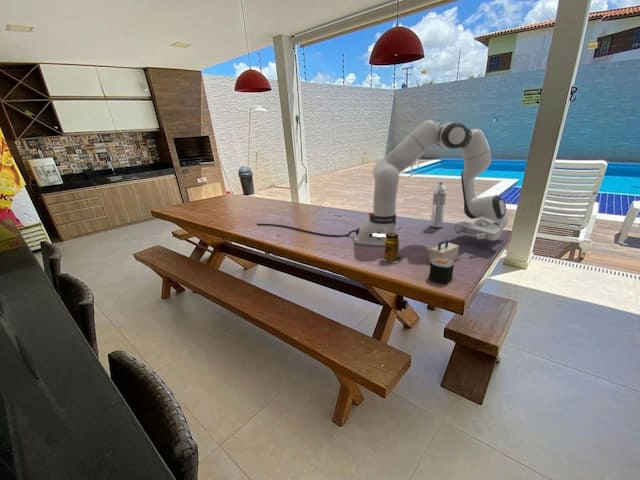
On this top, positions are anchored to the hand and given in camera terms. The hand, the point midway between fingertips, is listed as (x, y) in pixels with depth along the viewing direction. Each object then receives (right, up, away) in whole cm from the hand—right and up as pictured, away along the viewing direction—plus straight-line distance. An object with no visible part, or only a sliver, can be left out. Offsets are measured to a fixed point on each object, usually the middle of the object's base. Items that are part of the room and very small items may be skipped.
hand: (466, 234), depth 139 cm
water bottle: (-1, +8, +37) cm, 38 cm away
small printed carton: (-12, -12, -4) cm, 17 cm away
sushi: (-19, -20, -18) cm, 33 cm away
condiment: (-33, -11, +1) cm, 35 cm away
